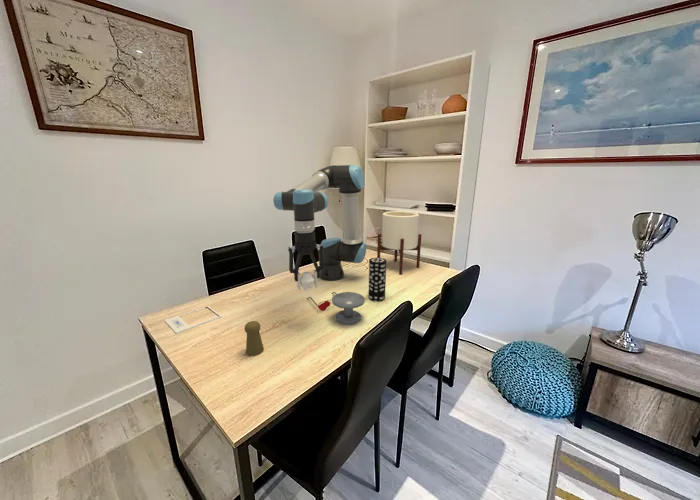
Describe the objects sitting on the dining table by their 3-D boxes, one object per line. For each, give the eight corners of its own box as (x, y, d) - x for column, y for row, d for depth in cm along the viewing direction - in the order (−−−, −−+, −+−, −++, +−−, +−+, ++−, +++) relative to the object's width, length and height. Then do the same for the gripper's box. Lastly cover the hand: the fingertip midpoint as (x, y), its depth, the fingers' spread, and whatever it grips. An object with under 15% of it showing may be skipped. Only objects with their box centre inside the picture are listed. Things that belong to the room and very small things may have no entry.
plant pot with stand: (374, 267, 188) (375, 213, 179) (395, 260, 203) (397, 210, 193) (401, 276, 172) (404, 217, 163) (422, 267, 187) (426, 213, 177)
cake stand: (328, 313, 128) (328, 294, 125) (357, 308, 132) (357, 290, 130) (337, 328, 115) (337, 308, 112) (369, 322, 119) (369, 303, 117)
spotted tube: (384, 302, 138) (385, 263, 132) (367, 300, 139) (368, 262, 134) (385, 295, 146) (387, 258, 140) (369, 293, 147) (370, 257, 142)
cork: (248, 346, 103) (245, 319, 101) (265, 345, 104) (262, 318, 101) (243, 356, 98) (240, 328, 95) (261, 355, 98) (259, 327, 95)
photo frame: (164, 319, 121) (208, 305, 133) (164, 321, 121) (208, 307, 134) (176, 332, 111) (221, 315, 124) (176, 334, 111) (222, 318, 124)
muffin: (302, 284, 118) (301, 268, 116) (316, 285, 117) (316, 269, 115) (297, 290, 112) (296, 273, 110) (312, 291, 111) (312, 274, 109)
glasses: (318, 313, 128) (318, 303, 127) (306, 299, 142) (306, 290, 141) (346, 307, 134) (346, 297, 133) (332, 294, 148) (332, 285, 147)
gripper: (280, 234, 102) (284, 294, 108) (331, 231, 107) (332, 287, 114) (278, 230, 108) (282, 286, 115) (326, 227, 114) (328, 280, 121)
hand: (307, 287), depth 114 cm, fingers closed on muffin, 6 cm apart
